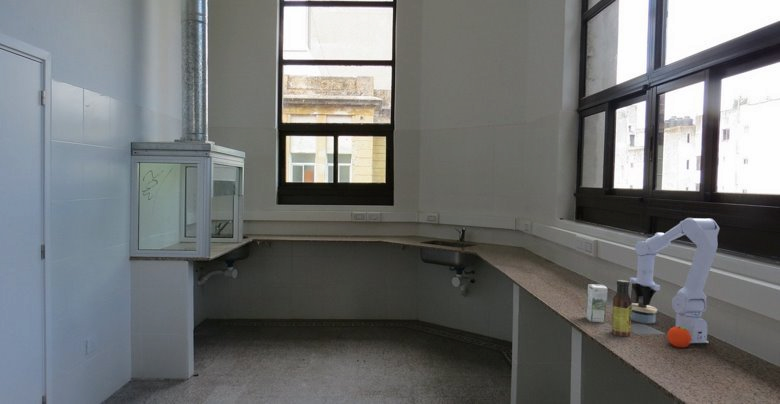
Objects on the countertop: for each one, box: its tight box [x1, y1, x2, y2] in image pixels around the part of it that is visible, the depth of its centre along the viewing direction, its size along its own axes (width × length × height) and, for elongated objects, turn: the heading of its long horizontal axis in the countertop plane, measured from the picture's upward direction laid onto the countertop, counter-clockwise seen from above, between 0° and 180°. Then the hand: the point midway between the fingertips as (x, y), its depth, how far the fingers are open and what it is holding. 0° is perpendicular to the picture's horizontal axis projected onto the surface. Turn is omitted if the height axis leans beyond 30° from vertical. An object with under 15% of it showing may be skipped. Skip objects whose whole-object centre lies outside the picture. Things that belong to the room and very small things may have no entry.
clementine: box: [666, 326, 695, 348], centre depth 151 cm, size 8×7×7 cm
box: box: [630, 283, 638, 304], centre depth 196 cm, size 6×4×12 cm
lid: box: [632, 296, 658, 314], centre depth 181 cm, size 11×11×5 cm
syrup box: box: [585, 283, 609, 323], centre depth 178 cm, size 6×6×14 cm
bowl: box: [631, 310, 657, 324], centre depth 181 cm, size 9×9×4 cm
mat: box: [630, 323, 666, 336], centre depth 169 cm, size 12×12×1 cm
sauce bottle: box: [611, 279, 632, 338], centre depth 162 cm, size 6×6×20 cm
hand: (643, 303), depth 181 cm, fingers closed on lid, 3 cm apart
